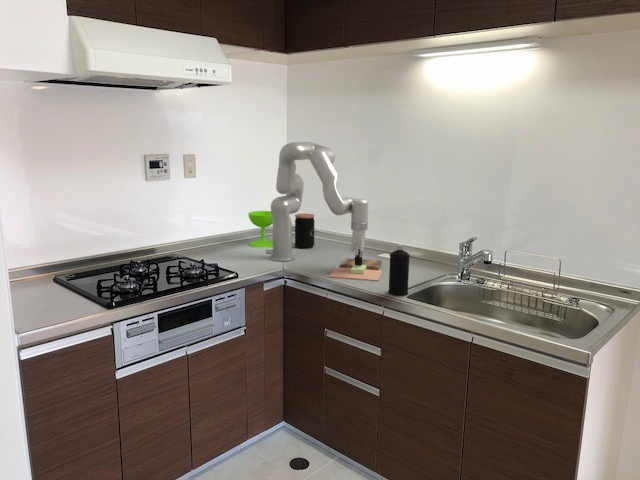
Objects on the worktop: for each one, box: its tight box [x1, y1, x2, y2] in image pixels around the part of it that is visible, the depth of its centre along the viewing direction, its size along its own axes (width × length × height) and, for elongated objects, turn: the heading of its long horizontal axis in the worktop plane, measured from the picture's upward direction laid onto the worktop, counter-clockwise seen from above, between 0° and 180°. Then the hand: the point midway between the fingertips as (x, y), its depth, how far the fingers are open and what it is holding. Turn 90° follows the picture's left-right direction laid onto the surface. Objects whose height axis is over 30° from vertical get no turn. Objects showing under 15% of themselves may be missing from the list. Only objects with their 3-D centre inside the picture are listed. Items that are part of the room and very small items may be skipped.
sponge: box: [351, 264, 367, 275], centre depth 240 cm, size 6×9×2 cm, turn 167°
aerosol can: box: [387, 244, 411, 297], centre depth 210 cm, size 8×8×20 cm
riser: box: [340, 257, 382, 270], centre depth 251 cm, size 18×12×2 cm, turn 76°
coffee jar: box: [294, 213, 315, 250], centre depth 288 cm, size 11×11×18 cm
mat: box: [328, 266, 383, 282], centre depth 238 cm, size 22×16×1 cm
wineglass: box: [248, 210, 273, 248], centre depth 292 cm, size 16×16×18 cm
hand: (358, 265), depth 242 cm, fingers closed
